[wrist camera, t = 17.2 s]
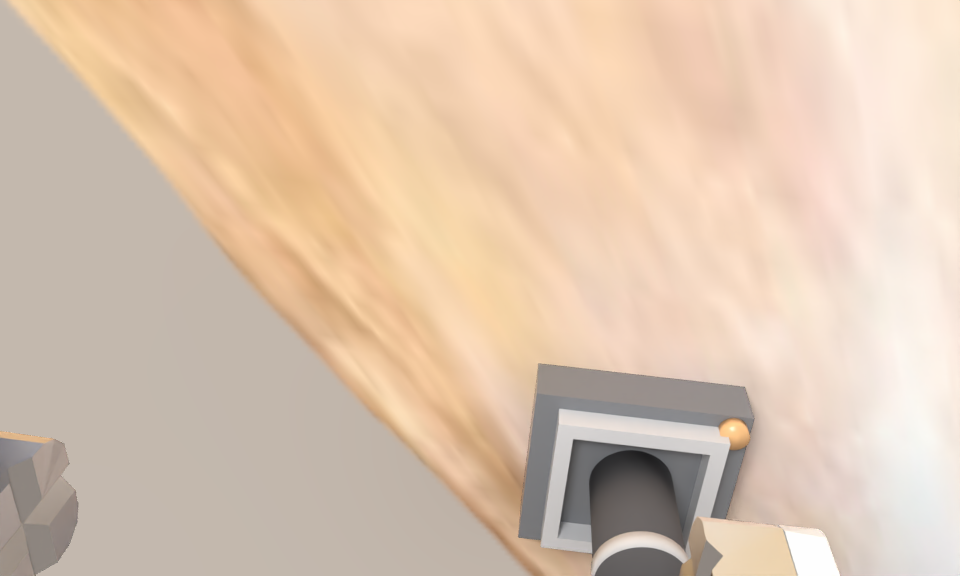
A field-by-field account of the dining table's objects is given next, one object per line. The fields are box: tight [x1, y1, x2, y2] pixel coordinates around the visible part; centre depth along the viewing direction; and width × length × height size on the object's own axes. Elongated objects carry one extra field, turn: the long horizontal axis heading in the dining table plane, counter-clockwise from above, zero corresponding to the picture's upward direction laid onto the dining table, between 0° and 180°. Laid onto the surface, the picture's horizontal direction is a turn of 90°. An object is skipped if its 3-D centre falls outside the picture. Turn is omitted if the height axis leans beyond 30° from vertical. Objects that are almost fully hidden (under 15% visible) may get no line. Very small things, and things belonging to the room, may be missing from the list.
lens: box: [589, 450, 689, 576], centre depth 44 cm, size 5×5×10 cm
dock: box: [518, 364, 754, 559], centre depth 49 cm, size 12×11×4 cm
